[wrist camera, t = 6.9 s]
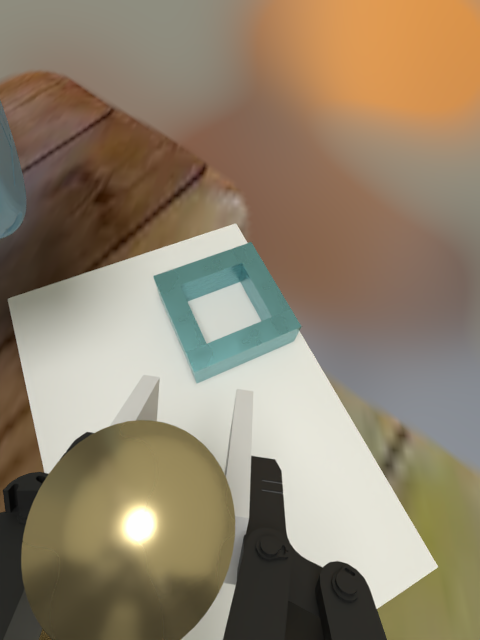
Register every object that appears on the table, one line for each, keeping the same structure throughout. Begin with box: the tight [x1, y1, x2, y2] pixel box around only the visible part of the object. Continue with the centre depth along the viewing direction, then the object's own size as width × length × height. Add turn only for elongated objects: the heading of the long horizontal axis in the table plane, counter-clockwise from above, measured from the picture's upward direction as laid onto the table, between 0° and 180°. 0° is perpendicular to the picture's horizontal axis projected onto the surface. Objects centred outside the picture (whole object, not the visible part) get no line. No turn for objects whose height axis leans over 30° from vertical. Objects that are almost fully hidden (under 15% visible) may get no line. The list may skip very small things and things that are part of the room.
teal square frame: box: [153, 242, 301, 383], centre depth 29 cm, size 9×9×3 cm
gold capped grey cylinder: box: [21, 420, 235, 640], centre depth 12 cm, size 4×4×12 cm
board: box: [8, 224, 438, 640], centre depth 27 cm, size 32×22×1 cm
